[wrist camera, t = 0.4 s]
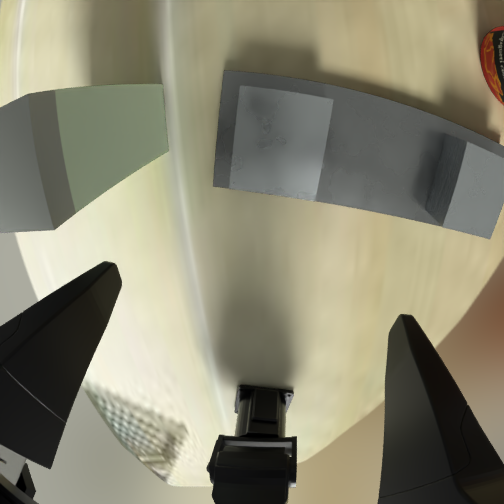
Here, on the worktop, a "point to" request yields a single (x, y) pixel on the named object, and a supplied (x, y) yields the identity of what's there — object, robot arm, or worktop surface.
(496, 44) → the canned food
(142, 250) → the worktop surface
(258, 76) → the rail
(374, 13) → the worktop surface
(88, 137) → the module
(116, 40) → the worktop surface
